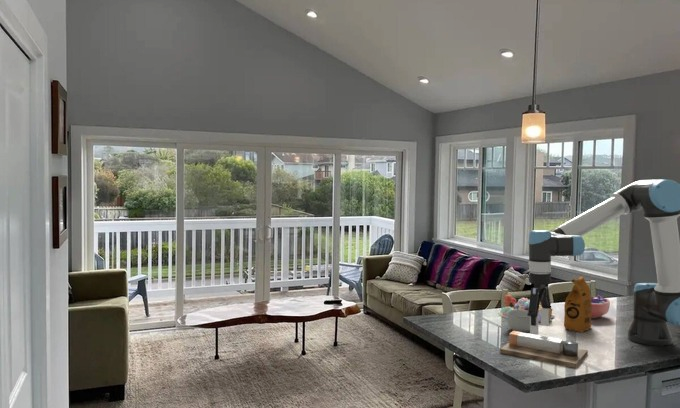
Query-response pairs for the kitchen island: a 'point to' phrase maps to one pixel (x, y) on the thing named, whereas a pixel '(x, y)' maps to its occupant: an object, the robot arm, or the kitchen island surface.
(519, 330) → the teacup
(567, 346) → the tongs fixed
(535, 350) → the board
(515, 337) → the tongs arm
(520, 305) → the candy landscape model
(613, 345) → the kitchen island surface
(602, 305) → the cell model
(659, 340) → the robot arm
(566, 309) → the coffee package
